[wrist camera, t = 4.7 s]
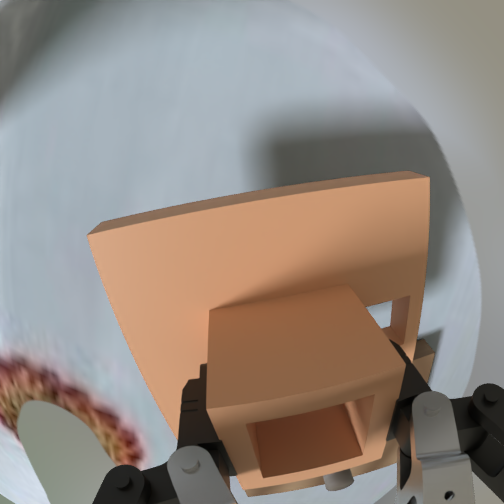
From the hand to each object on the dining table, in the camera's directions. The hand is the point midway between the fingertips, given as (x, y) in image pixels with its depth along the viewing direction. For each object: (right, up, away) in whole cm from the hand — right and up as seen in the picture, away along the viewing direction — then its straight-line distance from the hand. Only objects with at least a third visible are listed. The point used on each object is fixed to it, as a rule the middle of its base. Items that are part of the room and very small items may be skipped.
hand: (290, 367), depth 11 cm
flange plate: (0, +1, +2) cm, 2 cm away
